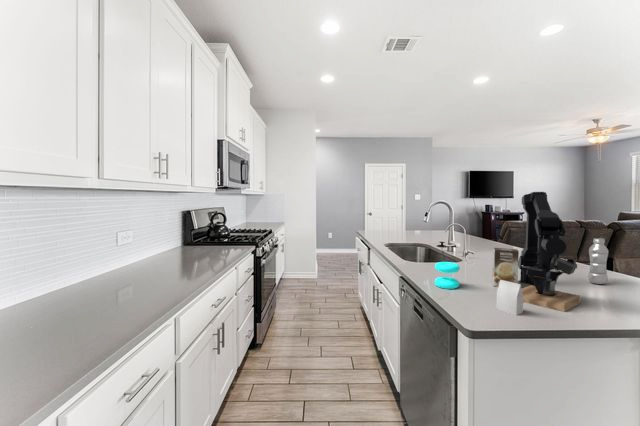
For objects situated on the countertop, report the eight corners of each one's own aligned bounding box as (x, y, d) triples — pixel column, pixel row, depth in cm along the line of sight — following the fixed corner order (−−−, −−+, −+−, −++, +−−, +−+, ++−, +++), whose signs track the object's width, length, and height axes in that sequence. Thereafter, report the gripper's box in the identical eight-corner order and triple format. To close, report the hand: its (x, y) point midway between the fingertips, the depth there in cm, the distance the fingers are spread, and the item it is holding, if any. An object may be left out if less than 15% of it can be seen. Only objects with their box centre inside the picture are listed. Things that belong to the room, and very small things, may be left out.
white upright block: (516, 315, 104) (517, 285, 103) (496, 309, 110) (497, 280, 109) (522, 313, 106) (523, 283, 105) (502, 307, 112) (503, 279, 111)
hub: (513, 299, 120) (513, 290, 120) (530, 292, 127) (530, 284, 127) (564, 311, 106) (564, 302, 106) (579, 303, 114) (579, 294, 114)
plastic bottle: (611, 286, 136) (613, 239, 135) (593, 285, 137) (595, 239, 136) (601, 282, 142) (603, 237, 141) (584, 281, 143) (585, 237, 142)
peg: (549, 304, 114) (550, 280, 114) (537, 301, 117) (537, 278, 117) (554, 301, 117) (555, 278, 116) (542, 299, 120) (542, 276, 119)
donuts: (441, 260, 144) (463, 263, 137) (441, 282, 145) (463, 286, 137) (430, 263, 138) (452, 267, 130) (430, 286, 138) (452, 291, 131)
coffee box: (493, 286, 137) (493, 249, 136) (492, 282, 143) (492, 247, 142) (517, 289, 133) (518, 251, 132) (515, 285, 139) (516, 248, 138)
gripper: (563, 256, 104) (561, 303, 105) (584, 250, 114) (582, 293, 115) (526, 251, 113) (525, 294, 114) (548, 246, 124) (547, 286, 125)
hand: (546, 292), depth 117 cm, fingers open, 9 cm apart
